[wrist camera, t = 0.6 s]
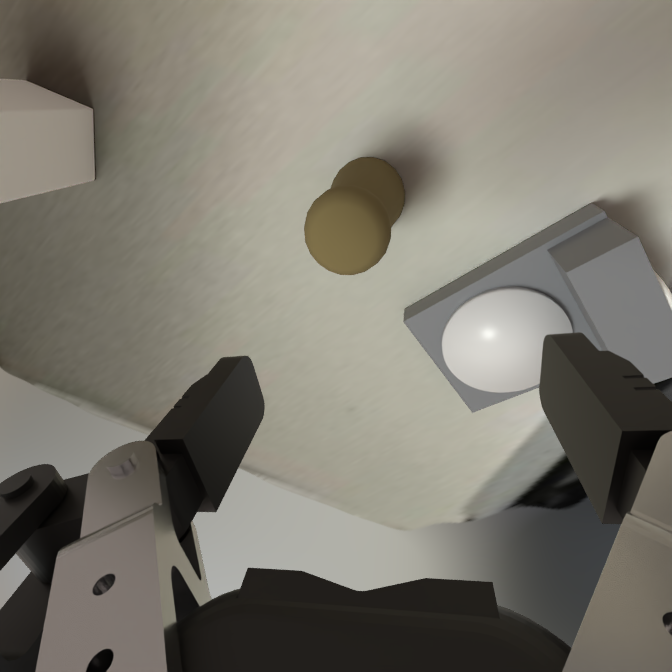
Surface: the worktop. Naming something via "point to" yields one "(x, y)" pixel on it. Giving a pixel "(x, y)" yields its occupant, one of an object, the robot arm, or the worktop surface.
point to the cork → (355, 216)
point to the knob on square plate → (547, 309)
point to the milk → (42, 141)
